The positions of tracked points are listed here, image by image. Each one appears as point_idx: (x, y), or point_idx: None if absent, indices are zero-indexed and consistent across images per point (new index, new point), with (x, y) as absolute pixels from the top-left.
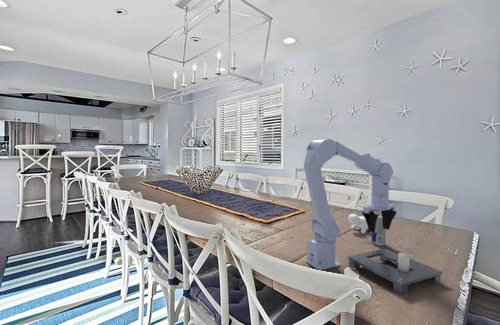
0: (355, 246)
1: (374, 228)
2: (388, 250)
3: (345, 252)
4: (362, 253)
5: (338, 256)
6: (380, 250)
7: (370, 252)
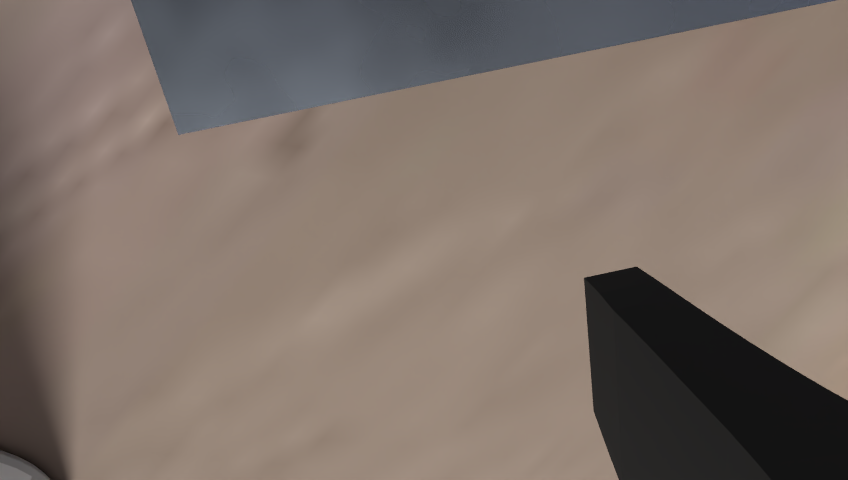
0: (371, 464)
1: (679, 323)
2: (156, 35)
3: None
4: (769, 11)
5: (824, 231)
6: (326, 69)
7: (593, 21)
